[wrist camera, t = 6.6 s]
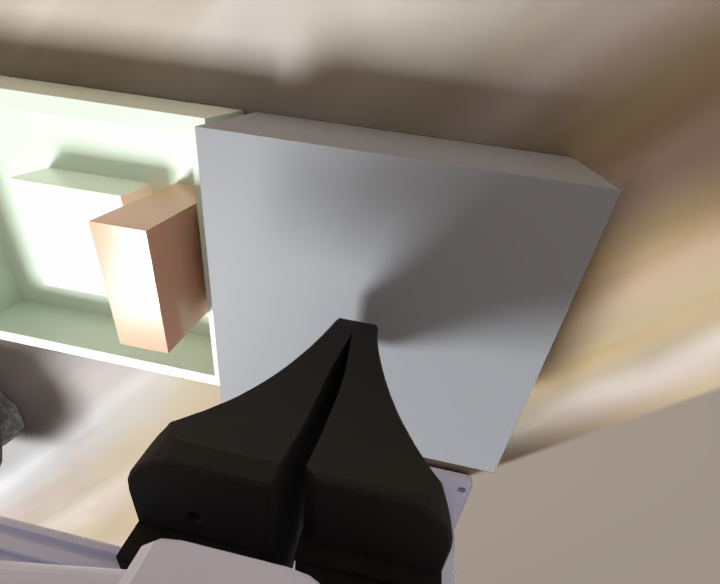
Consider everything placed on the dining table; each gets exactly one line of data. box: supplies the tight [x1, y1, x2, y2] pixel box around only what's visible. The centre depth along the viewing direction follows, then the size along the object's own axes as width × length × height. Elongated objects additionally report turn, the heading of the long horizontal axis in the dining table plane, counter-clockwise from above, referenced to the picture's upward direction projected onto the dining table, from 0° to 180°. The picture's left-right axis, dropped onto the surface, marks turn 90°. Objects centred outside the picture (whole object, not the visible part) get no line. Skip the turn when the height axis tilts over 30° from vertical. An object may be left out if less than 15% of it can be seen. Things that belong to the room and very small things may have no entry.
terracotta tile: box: [88, 183, 208, 353], centre depth 16 cm, size 5×5×2 cm
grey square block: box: [195, 112, 622, 473], centre depth 16 cm, size 12×12×4 cm
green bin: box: [0, 75, 244, 386], centre depth 18 cm, size 12×14×3 cm
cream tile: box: [7, 168, 154, 296], centre depth 18 cm, size 5×5×2 cm
